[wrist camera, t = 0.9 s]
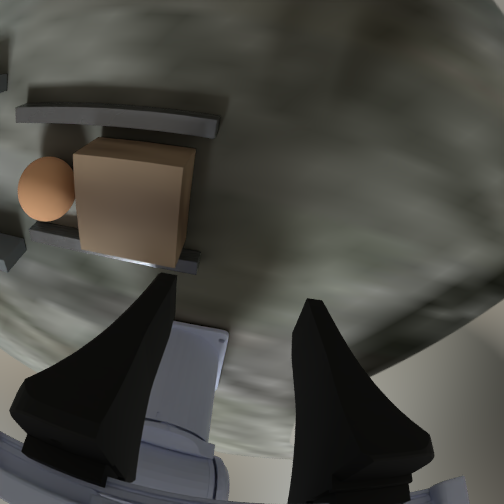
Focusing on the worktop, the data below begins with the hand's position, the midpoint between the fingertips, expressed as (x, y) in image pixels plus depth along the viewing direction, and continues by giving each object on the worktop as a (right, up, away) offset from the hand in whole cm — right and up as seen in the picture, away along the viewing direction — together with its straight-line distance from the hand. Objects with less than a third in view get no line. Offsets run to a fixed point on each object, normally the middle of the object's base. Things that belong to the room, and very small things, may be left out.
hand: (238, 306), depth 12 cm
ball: (-12, +6, +4) cm, 14 cm away
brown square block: (-6, +6, +6) cm, 11 cm away
